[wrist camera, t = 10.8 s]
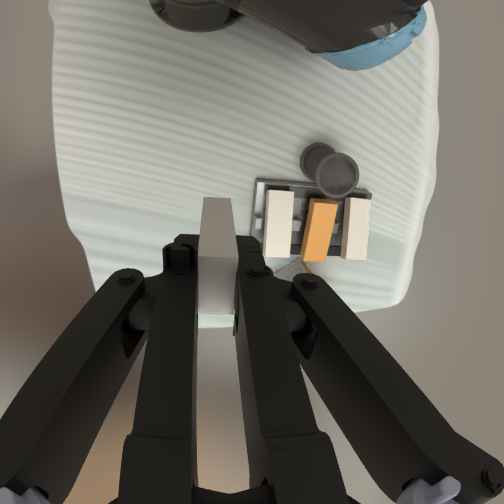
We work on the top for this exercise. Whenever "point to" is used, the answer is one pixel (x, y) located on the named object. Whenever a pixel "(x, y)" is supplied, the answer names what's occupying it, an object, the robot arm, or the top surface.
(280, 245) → the paddle near
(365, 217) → the beige rectangular tile
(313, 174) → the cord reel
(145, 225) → the top surface
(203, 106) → the top surface
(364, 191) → the plate
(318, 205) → the paddle mid
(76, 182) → the top surface
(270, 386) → the robot arm
